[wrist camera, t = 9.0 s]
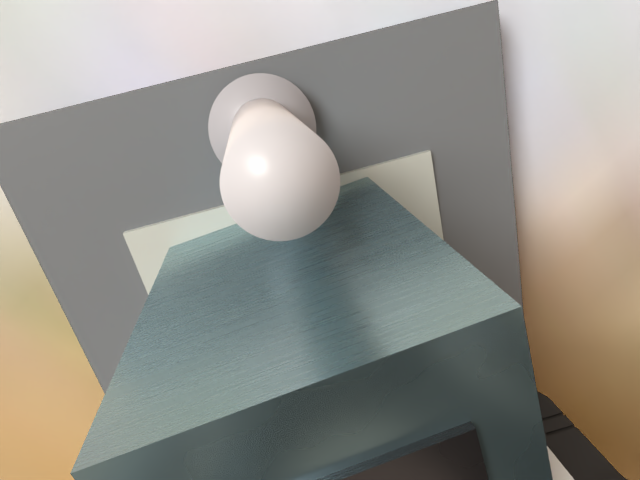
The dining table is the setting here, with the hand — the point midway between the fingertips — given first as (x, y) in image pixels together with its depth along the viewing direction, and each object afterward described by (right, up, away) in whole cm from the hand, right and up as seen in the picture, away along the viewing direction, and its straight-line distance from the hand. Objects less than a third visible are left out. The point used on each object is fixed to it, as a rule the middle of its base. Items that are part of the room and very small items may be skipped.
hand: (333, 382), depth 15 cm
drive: (0, 0, 0) cm, 0 cm away
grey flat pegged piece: (0, +1, +2) cm, 2 cm away
